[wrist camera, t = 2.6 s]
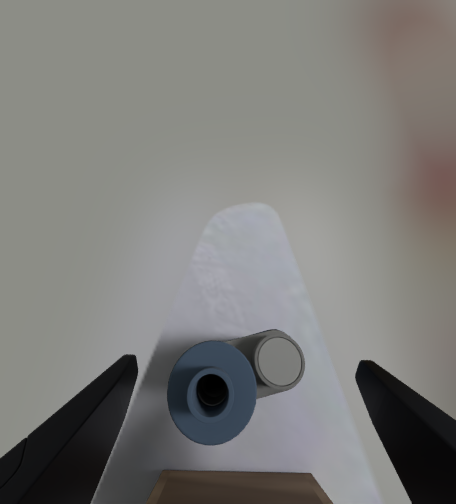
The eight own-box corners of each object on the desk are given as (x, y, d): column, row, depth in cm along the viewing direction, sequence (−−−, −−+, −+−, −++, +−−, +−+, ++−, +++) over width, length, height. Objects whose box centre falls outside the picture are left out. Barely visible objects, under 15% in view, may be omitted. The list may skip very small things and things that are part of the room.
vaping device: (198, 351, 16) (148, 346, 5) (267, 334, 17) (349, 298, 6) (204, 391, 15) (158, 489, 4) (277, 372, 16) (401, 413, 5)
